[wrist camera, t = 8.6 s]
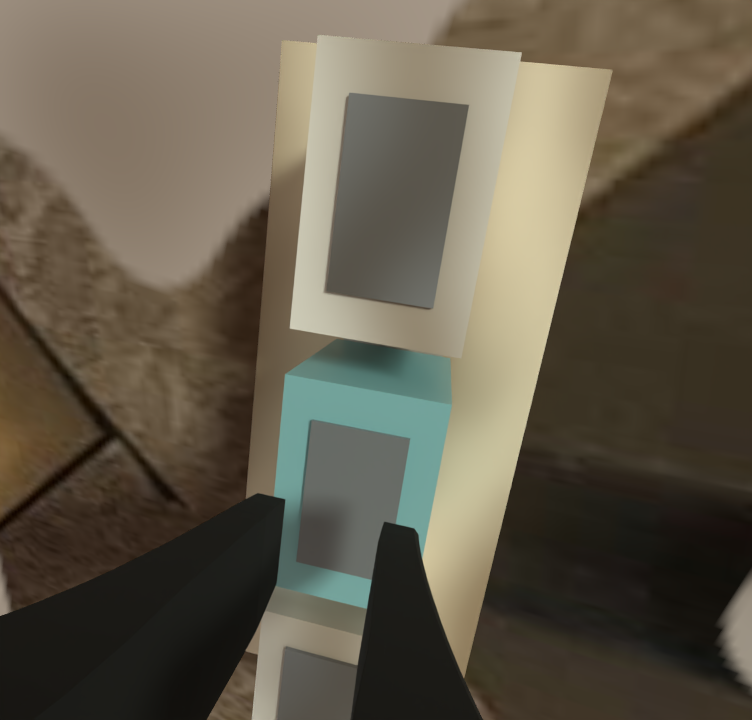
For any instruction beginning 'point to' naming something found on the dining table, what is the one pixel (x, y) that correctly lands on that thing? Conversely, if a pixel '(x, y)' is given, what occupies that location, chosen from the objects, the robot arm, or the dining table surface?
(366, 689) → the robot arm
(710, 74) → the dining table surface
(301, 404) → the teal module
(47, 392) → the dining table surface
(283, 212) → the board
